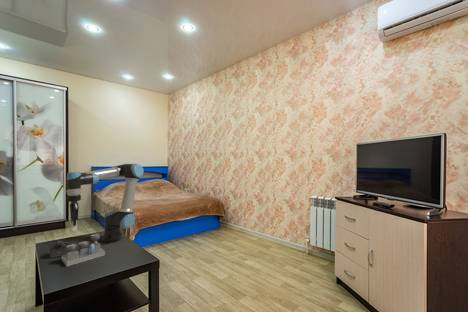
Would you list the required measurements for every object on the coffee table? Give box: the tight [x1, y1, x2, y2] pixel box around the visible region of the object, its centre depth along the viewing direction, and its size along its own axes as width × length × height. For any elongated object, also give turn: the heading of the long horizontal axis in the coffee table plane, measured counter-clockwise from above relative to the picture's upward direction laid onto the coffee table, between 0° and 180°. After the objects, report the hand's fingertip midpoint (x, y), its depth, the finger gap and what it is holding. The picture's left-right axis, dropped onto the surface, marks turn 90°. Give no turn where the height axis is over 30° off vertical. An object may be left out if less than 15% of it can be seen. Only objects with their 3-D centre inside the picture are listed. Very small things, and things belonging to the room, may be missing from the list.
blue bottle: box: [89, 243, 94, 254], centre depth 151 cm, size 2×2×6 cm
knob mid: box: [78, 240, 90, 249], centre depth 152 cm, size 6×6×7 cm
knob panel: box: [61, 242, 106, 267], centre depth 152 cm, size 22×14×7 cm, turn 138°
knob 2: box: [90, 233, 101, 245], centre depth 157 cm, size 6×6×7 cm
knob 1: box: [66, 243, 78, 252], centre depth 147 cm, size 6×6×7 cm
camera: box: [49, 240, 74, 259], centre depth 157 cm, size 13×10×10 cm
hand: (74, 230), depth 148 cm, fingers closed
